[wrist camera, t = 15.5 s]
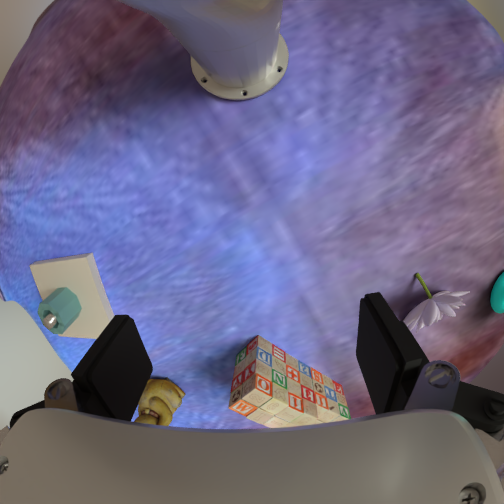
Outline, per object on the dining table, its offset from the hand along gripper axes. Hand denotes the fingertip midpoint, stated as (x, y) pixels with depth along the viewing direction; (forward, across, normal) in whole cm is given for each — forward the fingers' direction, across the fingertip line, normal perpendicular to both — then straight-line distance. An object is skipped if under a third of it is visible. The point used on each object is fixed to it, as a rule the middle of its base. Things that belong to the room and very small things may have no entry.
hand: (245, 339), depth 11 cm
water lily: (+29, -25, +19) cm, 42 cm away
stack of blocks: (+29, -2, +31) cm, 42 cm away
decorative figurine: (+28, +24, +34) cm, 50 cm away
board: (+28, +36, +12) cm, 47 cm away
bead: (+26, +36, +12) cm, 46 cm away
